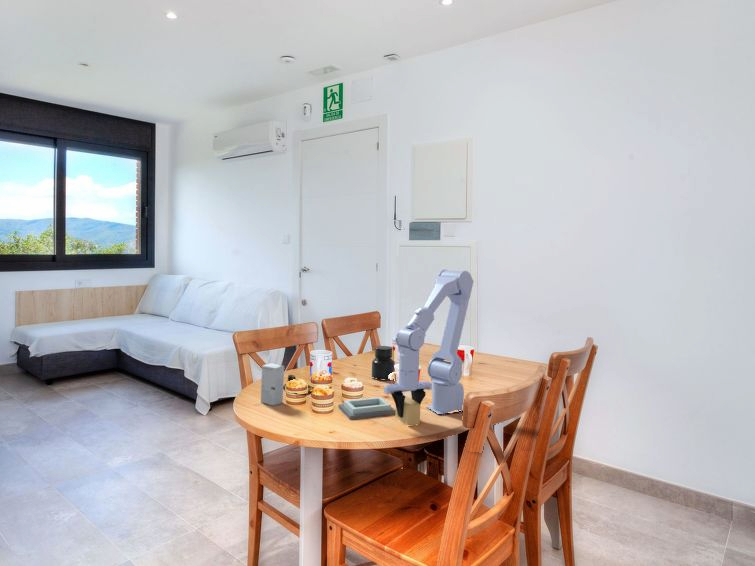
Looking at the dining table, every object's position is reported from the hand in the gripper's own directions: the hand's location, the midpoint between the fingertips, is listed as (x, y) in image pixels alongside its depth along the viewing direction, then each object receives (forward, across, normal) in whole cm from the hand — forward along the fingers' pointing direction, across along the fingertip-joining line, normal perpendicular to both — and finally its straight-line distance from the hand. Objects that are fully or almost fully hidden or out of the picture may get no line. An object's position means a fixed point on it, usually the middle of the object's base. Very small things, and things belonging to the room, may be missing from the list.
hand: (407, 415), depth 139 cm
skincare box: (+2, +34, -29) cm, 45 cm away
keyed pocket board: (+2, +8, -12) cm, 15 cm away
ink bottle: (+2, -12, -46) cm, 48 cm away
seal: (+2, +23, -41) cm, 47 cm away
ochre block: (+2, 0, 0) cm, 2 cm away
